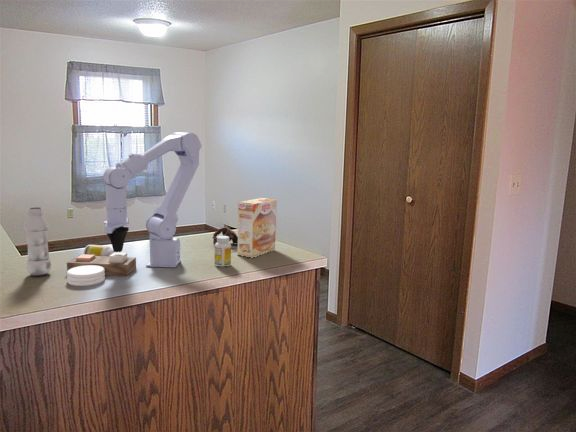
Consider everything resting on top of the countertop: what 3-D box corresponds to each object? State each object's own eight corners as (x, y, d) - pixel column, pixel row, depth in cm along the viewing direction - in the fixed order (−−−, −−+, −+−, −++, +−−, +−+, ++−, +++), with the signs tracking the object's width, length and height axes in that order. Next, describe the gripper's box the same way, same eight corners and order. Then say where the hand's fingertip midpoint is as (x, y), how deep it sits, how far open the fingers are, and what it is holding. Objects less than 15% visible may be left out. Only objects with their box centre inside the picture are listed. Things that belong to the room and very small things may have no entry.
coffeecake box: (252, 259, 161) (253, 203, 157) (236, 255, 165) (237, 201, 161) (276, 250, 174) (277, 199, 170) (260, 247, 177) (261, 197, 174)
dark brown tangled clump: (241, 250, 175) (232, 232, 171) (219, 259, 175) (209, 243, 171) (240, 235, 185) (231, 218, 182) (219, 244, 186) (210, 228, 182)
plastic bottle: (35, 279, 132) (30, 211, 129) (22, 275, 136) (17, 208, 132) (56, 274, 138) (52, 208, 134) (43, 269, 141) (39, 205, 138)
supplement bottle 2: (214, 267, 149) (214, 238, 148) (214, 263, 155) (214, 235, 153) (231, 267, 150) (231, 238, 149) (230, 262, 156) (230, 235, 154)
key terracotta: (95, 264, 144) (95, 254, 143) (90, 267, 140) (89, 258, 139) (82, 263, 144) (82, 254, 143) (76, 267, 140) (76, 257, 139)
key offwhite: (127, 262, 144) (127, 252, 143) (122, 265, 140) (122, 256, 139) (114, 261, 144) (114, 252, 143) (109, 265, 140) (109, 255, 139)
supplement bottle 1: (84, 263, 151) (111, 265, 149) (81, 247, 149) (109, 250, 147) (94, 257, 156) (120, 259, 154) (92, 242, 154) (118, 244, 152)
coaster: (94, 273, 140) (93, 262, 140) (111, 281, 134) (111, 269, 133) (61, 281, 133) (60, 269, 132) (77, 289, 126) (77, 277, 126)
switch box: (136, 268, 146) (135, 257, 146) (127, 276, 138) (126, 264, 138) (79, 266, 146) (78, 255, 146) (67, 273, 138) (66, 262, 138)
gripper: (112, 203, 146) (114, 245, 148) (93, 211, 131) (95, 257, 134) (134, 204, 146) (135, 245, 148) (117, 212, 131) (119, 258, 134)
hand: (118, 251), depth 141 cm, fingers closed
